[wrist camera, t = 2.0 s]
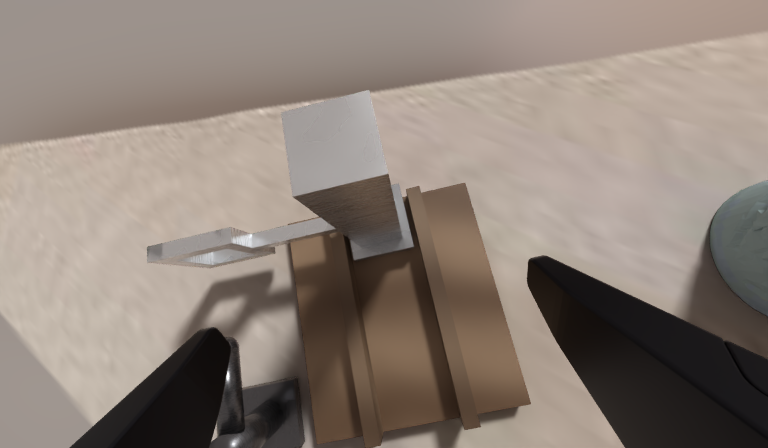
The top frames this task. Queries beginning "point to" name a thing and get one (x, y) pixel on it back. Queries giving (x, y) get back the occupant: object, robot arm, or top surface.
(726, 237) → the green embossed cup
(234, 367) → the keeper hook
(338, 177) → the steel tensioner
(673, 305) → the top surface
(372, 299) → the track board
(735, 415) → the robot arm
